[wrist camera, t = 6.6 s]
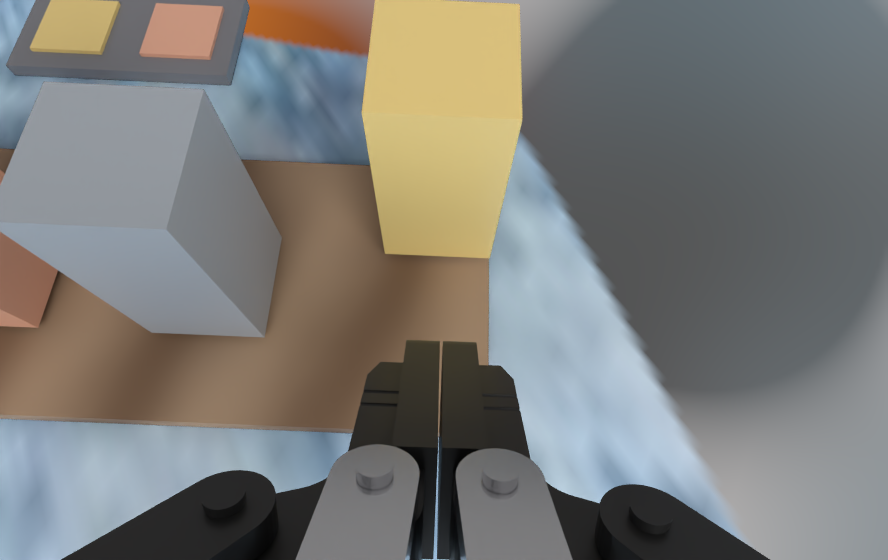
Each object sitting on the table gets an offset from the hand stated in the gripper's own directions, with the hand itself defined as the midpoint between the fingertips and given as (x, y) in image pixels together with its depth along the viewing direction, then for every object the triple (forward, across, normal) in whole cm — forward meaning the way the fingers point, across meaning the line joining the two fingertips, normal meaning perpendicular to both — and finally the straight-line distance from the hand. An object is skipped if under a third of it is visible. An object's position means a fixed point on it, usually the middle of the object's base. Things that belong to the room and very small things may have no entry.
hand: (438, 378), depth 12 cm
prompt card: (+19, +15, -7) cm, 25 cm away
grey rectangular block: (+9, +8, +2) cm, 12 cm away
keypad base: (+10, +10, +2) cm, 14 cm away
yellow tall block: (+11, 0, -1) cm, 11 cm away
